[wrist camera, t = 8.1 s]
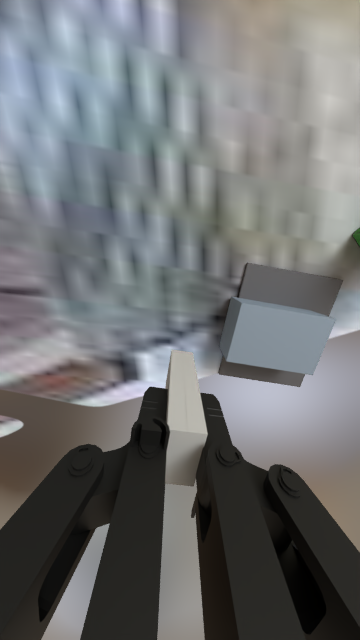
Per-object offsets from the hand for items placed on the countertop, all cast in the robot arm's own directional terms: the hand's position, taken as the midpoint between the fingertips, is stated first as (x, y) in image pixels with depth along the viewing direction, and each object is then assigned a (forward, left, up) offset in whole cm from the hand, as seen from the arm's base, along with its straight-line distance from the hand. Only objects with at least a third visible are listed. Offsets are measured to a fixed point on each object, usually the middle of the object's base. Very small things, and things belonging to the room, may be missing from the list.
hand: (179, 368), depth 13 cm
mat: (+15, 0, -16) cm, 22 cm away
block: (+7, 0, -13) cm, 15 cm away
